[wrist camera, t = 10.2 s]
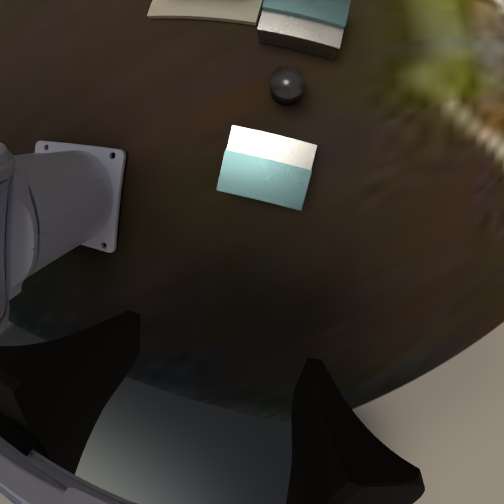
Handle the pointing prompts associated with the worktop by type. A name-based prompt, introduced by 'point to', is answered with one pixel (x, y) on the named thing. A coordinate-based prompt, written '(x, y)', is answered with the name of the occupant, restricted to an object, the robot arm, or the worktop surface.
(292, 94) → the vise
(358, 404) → the worktop surface
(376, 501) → the robot arm
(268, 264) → the worktop surface
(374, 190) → the worktop surface
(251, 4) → the mat
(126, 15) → the worktop surface
